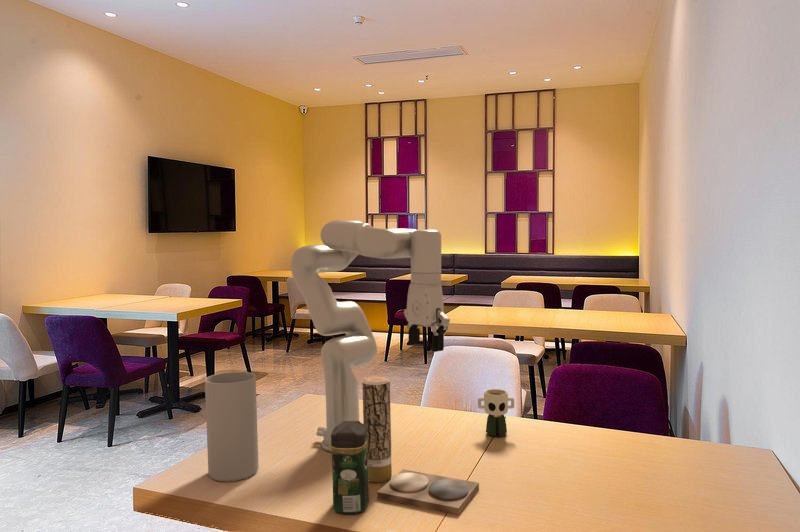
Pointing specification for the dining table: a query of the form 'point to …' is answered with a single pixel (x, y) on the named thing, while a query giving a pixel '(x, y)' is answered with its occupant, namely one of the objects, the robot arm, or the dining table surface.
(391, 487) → the board
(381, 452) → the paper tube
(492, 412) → the character mug
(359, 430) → the coffee jar
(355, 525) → the dining table surface
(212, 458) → the cylinder vase
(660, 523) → the dining table surface
